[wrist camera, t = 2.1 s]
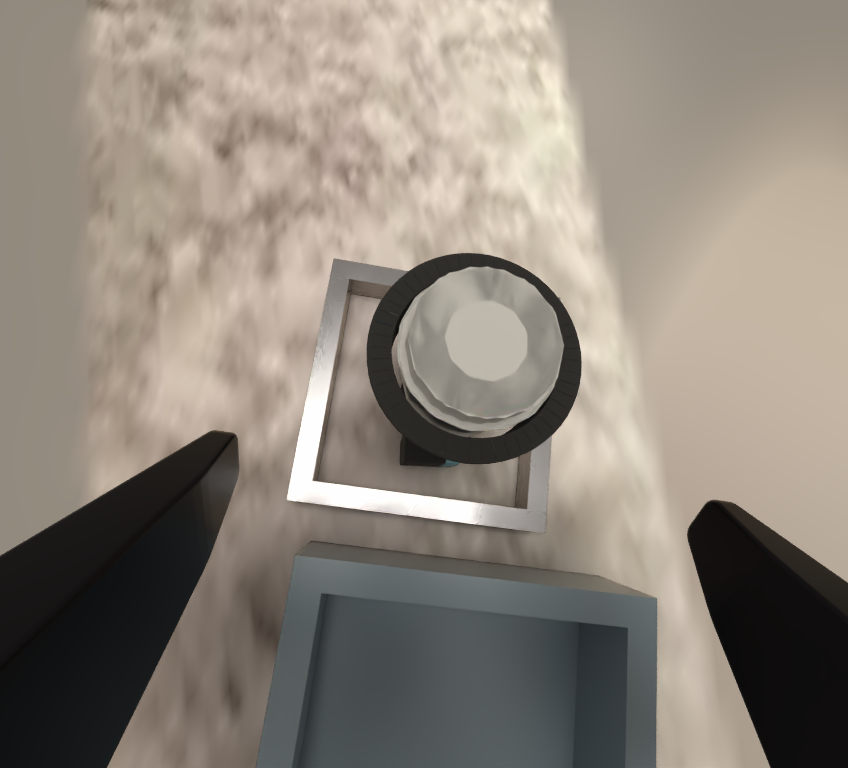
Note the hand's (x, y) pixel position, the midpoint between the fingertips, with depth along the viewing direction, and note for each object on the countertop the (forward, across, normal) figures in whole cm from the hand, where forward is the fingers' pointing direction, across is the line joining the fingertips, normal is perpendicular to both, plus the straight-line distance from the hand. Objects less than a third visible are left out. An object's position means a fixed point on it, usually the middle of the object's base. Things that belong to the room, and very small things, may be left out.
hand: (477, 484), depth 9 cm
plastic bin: (+1, -2, +14) cm, 14 cm away
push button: (+10, 0, +5) cm, 12 cm away
